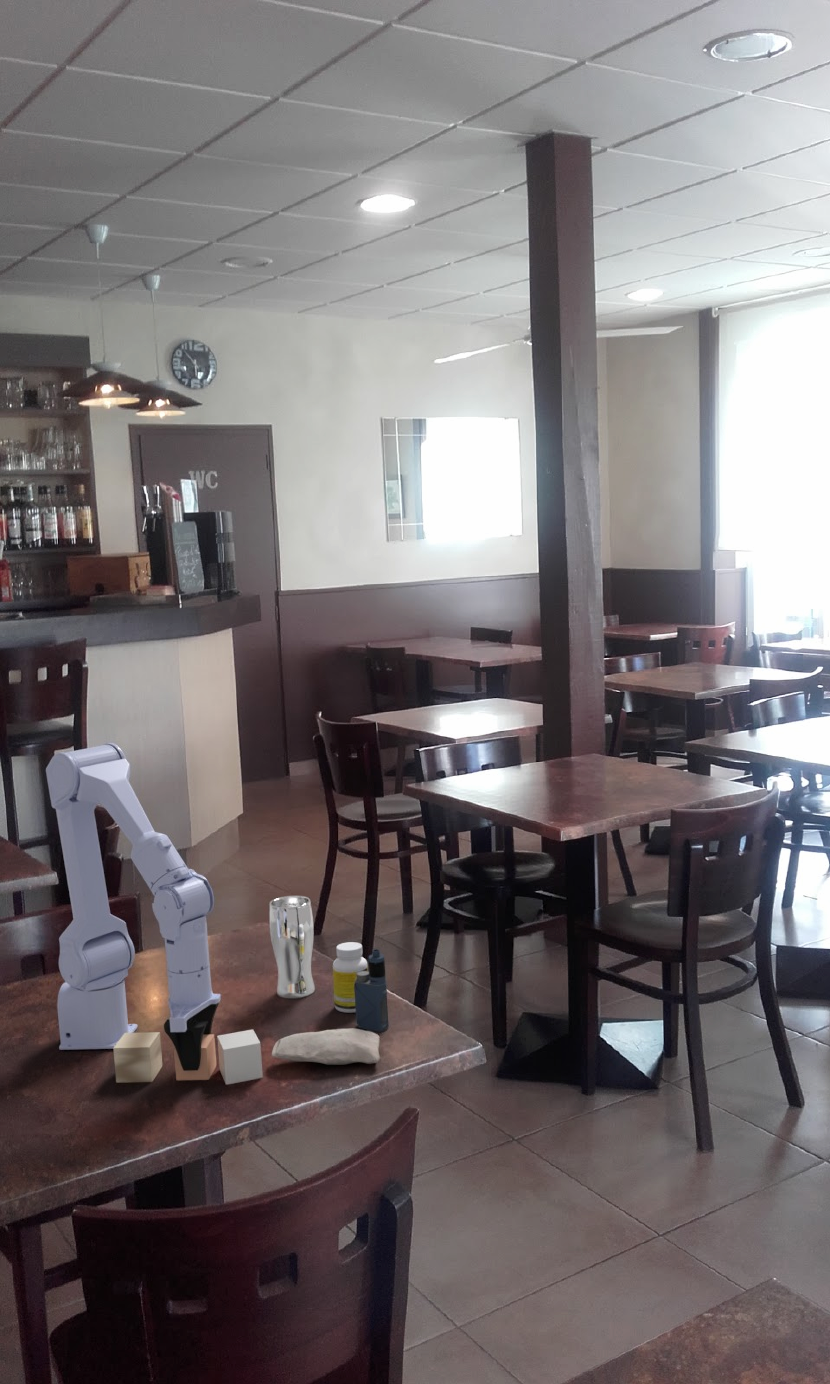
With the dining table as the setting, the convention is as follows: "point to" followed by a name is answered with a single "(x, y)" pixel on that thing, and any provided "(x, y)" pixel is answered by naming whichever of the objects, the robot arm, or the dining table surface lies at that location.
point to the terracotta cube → (205, 1063)
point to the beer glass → (292, 945)
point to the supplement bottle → (347, 975)
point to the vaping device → (372, 995)
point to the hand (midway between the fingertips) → (195, 1061)
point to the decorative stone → (330, 1047)
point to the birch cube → (138, 1057)
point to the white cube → (239, 1056)
